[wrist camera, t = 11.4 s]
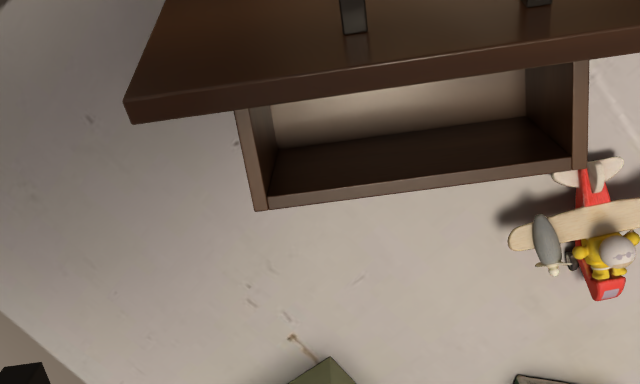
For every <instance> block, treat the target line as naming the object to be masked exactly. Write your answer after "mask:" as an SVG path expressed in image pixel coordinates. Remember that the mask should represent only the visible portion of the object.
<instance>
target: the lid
mask: <svg viewBox="0 0 640 384" xmlns="http://www.w3.org/2000/svg"><path fill="white" fill-rule="evenodd" d="M633 53H640V0H166V1H165V3H164V5H163V8H162V10H161V12H160V15H159V17H158V19H157V21H156V24H155V26H154V28H153V31H152V33H151V35H150V38H149V40H148V42H147V45H146V47H145V49H144V52H143V54H142V56H141V58H140V61H139V63H138V65H137V68H136V70H135V72H134V75H133V77H132V79H131V82H130V84H129V86H128V89H127V91H126V93H125V95H124V98H123V101H122V102H123V105H124V107H125V109H126V112H127V114H128V117H129V119H130V122H131V124H132V125H136V124H143V123H150V122H157V121H164V120H171V119H178V118H185V117H192V116H199V115H206V114H213V113H220V112H227V111H234V110H241V109H248V108H255V107H262V106H269V105H276V104H283V103H290V102H297V101H304V100H311V99H318V98H325V97H332V96H339V95H346V94H353V93H360V92H367V91H374V90H381V89H388V88H395V87H402V86H409V85H416V84H423V83H430V82H437V81H444V80H451V79H458V78H465V77H472V76H479V75H486V74H493V73H500V72H507V71H514V70H521V69H528V68H535V67H542V66H549V65H556V64H563V63H570V62H577V61H584V60H591V59H598V58H605V57H612V56H619V55H626V54H633Z"/></svg>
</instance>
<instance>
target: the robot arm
mask: <svg viewBox="0 0 640 384" xmlns="http://www.w3.org/2000/svg"><path fill="white" fill-rule="evenodd" d="M0 384H50V381H49V379H48V376H47V374H46V372H45V369H44V367H43V365H42V362H38V363H30V364H23V365H16V366H8V367H4V368H3V369H2V371H1V372H0Z"/></svg>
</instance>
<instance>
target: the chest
mask: <svg viewBox="0 0 640 384" xmlns="http://www.w3.org/2000/svg"><path fill="white" fill-rule="evenodd" d="M588 101H589V60H584V61H577V62H570V63H563V64H556V65H549V66H542V67H535V68H528V69H521V70H514V71H507V72H500V73H493V74H486V75H479V76H472V77H465V78H458V79H451V80H444V81H437V82H430V83H423V84H416V85H409V86H402V87H395V88H388V89H381V90H374V91H367V92H360V93H353V94H346V95H339V96H332V97H325V98H318V99H311V100H304V101H297V102H290V103H283V104H276V105H269V106H262V107H255V108H248V109H241V110H234V115H235V120H236V125H237V130H238V135H239V139H240V144H241V149H242V154H243V159H244V163H245V168H246V173H247V178H248V183H249V188H250V192H251V197H252V202H253V207H254V211H255V212H258V211H265V210H274V209H281V208H289V207H297V206H304V205H312V204H320V203H327V202H335V201H343V200H350V199H358V198H366V197H373V196H381V195H389V194H396V193H404V192H412V191H419V190H427V189H435V188H442V187H450V186H458V185H465V184H473V183H481V182H488V181H496V180H503V179H511V178H519V177H526V176H534V175H542V174H549V173H557V172H565V171H571V170H580V169H587V154H588Z"/></svg>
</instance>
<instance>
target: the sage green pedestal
mask: <svg viewBox="0 0 640 384" xmlns="http://www.w3.org/2000/svg"><path fill="white" fill-rule="evenodd" d="M288 384H356V383H355V382H354V381H353V380H352V379H351V378H350V377H349V376H348V375H347V374H346V373H345V372H344V371H343V370H342V369H341V368H340V366H339V365H338V364H337V363H336V362H335V361H334V360H333V359H332V358H331V357H329V358H327V359H326V360H324V361H323V362H321V363H320V364H318V365H316V366H315V367H313V368H312V369H310V370H309V371H307V372H306V373H304V374H302V375H301V376H299V377H298V378H296V379H295V380H293V381H291V382H290V383H288Z"/></svg>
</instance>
